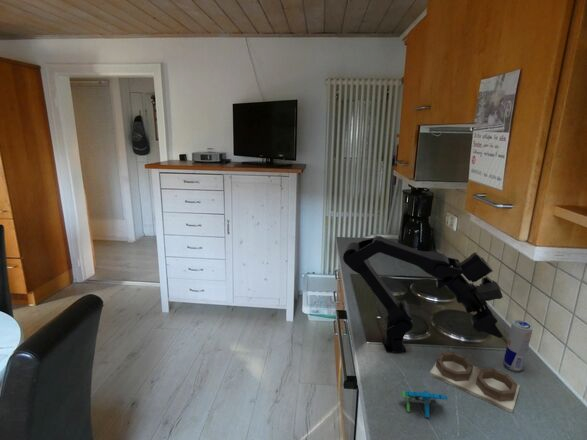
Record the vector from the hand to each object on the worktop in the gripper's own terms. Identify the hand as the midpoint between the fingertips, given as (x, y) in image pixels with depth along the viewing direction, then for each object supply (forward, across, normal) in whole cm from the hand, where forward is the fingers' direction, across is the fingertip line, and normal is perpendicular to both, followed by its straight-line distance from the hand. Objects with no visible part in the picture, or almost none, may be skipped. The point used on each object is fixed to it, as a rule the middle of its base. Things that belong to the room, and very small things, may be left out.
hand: (497, 327), depth 102 cm
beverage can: (+13, 0, +5) cm, 14 cm away
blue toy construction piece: (-6, -23, +24) cm, 34 cm away
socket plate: (+4, -10, +13) cm, 17 cm away
